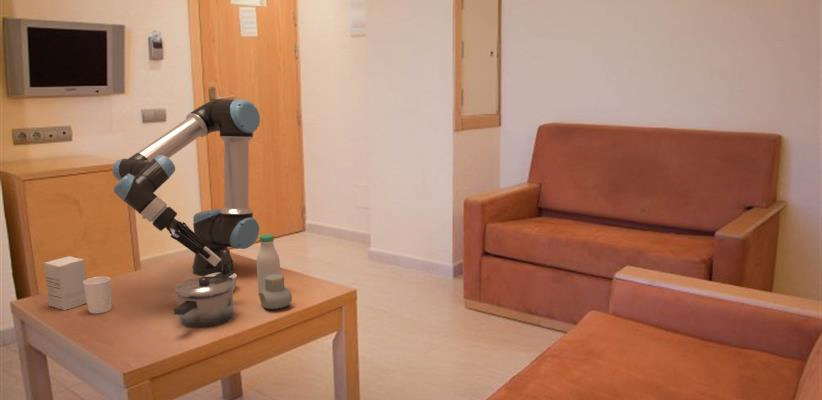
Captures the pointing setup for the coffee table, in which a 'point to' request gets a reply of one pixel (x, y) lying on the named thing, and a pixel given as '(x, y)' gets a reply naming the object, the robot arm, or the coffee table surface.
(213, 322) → the pot
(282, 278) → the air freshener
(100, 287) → the white cup
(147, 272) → the coffee table surface
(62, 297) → the supplement box
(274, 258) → the milk bottle
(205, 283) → the lid
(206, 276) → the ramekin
